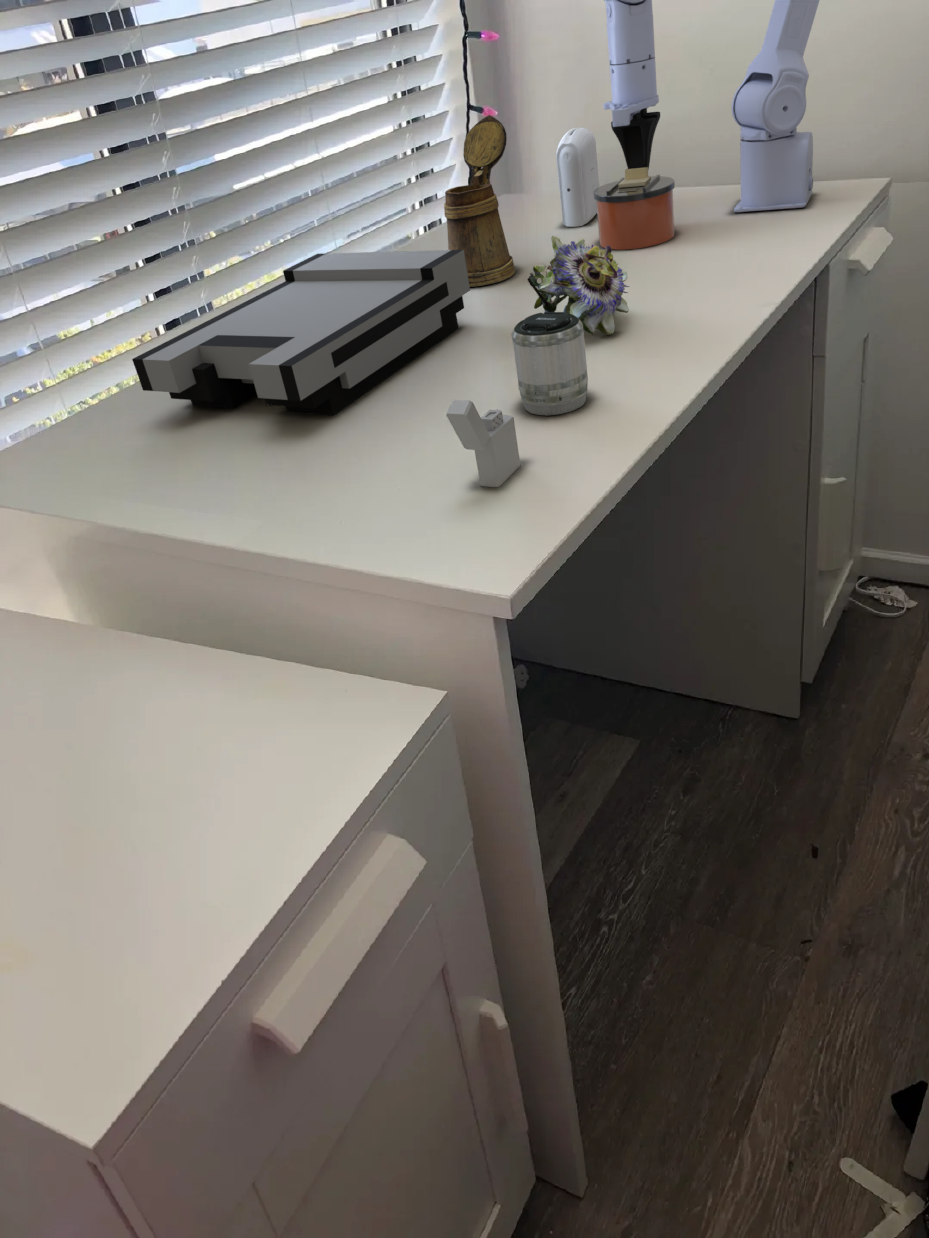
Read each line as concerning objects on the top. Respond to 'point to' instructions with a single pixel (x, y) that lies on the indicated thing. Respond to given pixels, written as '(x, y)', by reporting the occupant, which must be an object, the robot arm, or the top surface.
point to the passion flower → (582, 284)
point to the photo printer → (577, 176)
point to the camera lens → (551, 362)
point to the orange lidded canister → (635, 213)
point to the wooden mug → (480, 208)
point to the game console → (316, 333)
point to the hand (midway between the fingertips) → (639, 175)
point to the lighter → (487, 440)
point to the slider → (635, 177)
